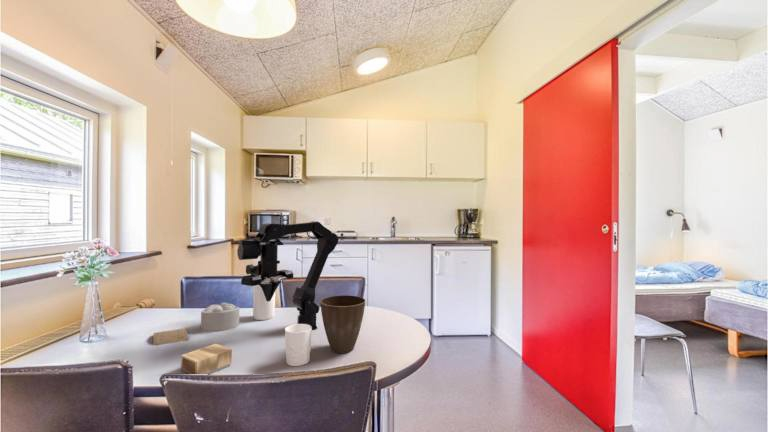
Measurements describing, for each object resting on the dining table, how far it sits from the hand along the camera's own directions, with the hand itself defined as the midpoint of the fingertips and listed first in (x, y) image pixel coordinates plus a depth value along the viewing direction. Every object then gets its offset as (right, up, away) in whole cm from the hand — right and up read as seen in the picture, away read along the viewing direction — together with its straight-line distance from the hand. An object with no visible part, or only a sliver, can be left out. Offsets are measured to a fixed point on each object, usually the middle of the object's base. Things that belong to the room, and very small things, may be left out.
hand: (268, 301), depth 115 cm
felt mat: (-9, -13, -24) cm, 28 cm away
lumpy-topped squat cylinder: (-22, -13, +11) cm, 28 cm away
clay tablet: (-35, -14, -1) cm, 37 cm away
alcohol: (-10, -13, +23) cm, 28 cm away
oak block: (-6, -10, -19) cm, 23 cm away
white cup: (+16, -13, -19) cm, 28 cm away
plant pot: (+28, -13, -10) cm, 33 cm away
